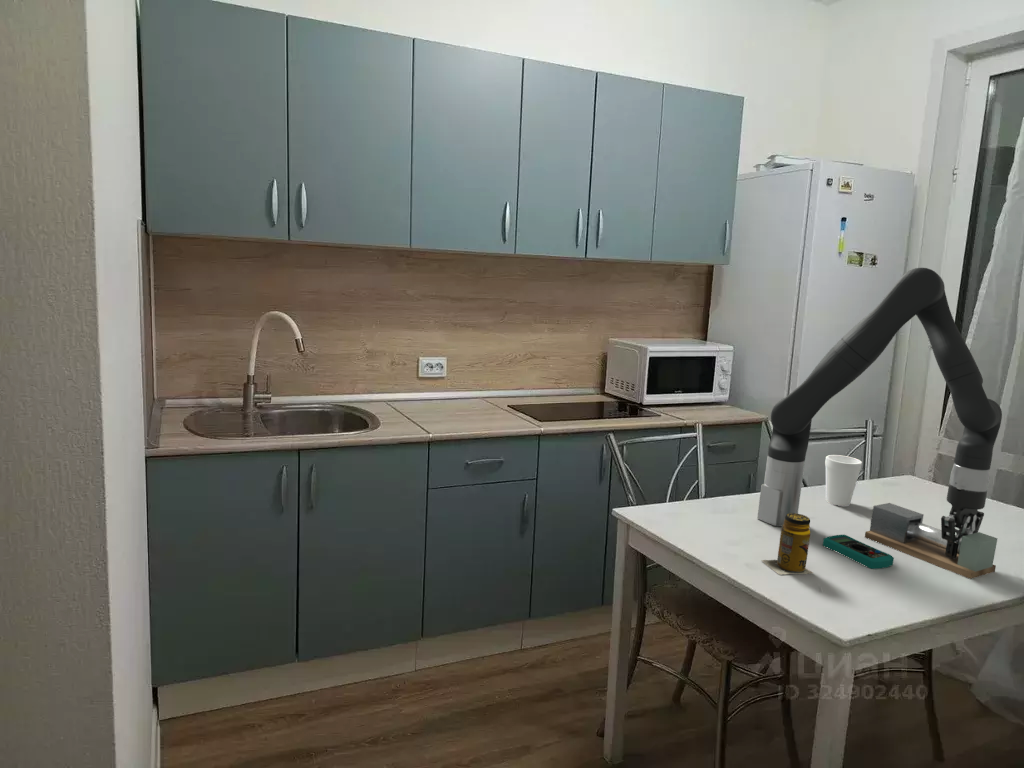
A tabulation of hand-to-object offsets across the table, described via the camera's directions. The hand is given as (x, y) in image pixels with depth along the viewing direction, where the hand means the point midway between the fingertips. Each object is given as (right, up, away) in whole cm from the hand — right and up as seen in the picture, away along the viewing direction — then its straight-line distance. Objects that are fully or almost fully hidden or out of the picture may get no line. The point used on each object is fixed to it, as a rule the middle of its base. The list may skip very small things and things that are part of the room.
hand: (956, 555), depth 170 cm
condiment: (-42, -1, -7) cm, 43 cm away
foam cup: (-9, +5, +42) cm, 43 cm away
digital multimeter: (-22, -1, +3) cm, 22 cm away
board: (-3, -1, +6) cm, 7 cm away
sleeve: (-8, +2, +13) cm, 15 cm away
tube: (-2, +1, +4) cm, 5 cm away
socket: (+2, -2, -4) cm, 4 cm away
